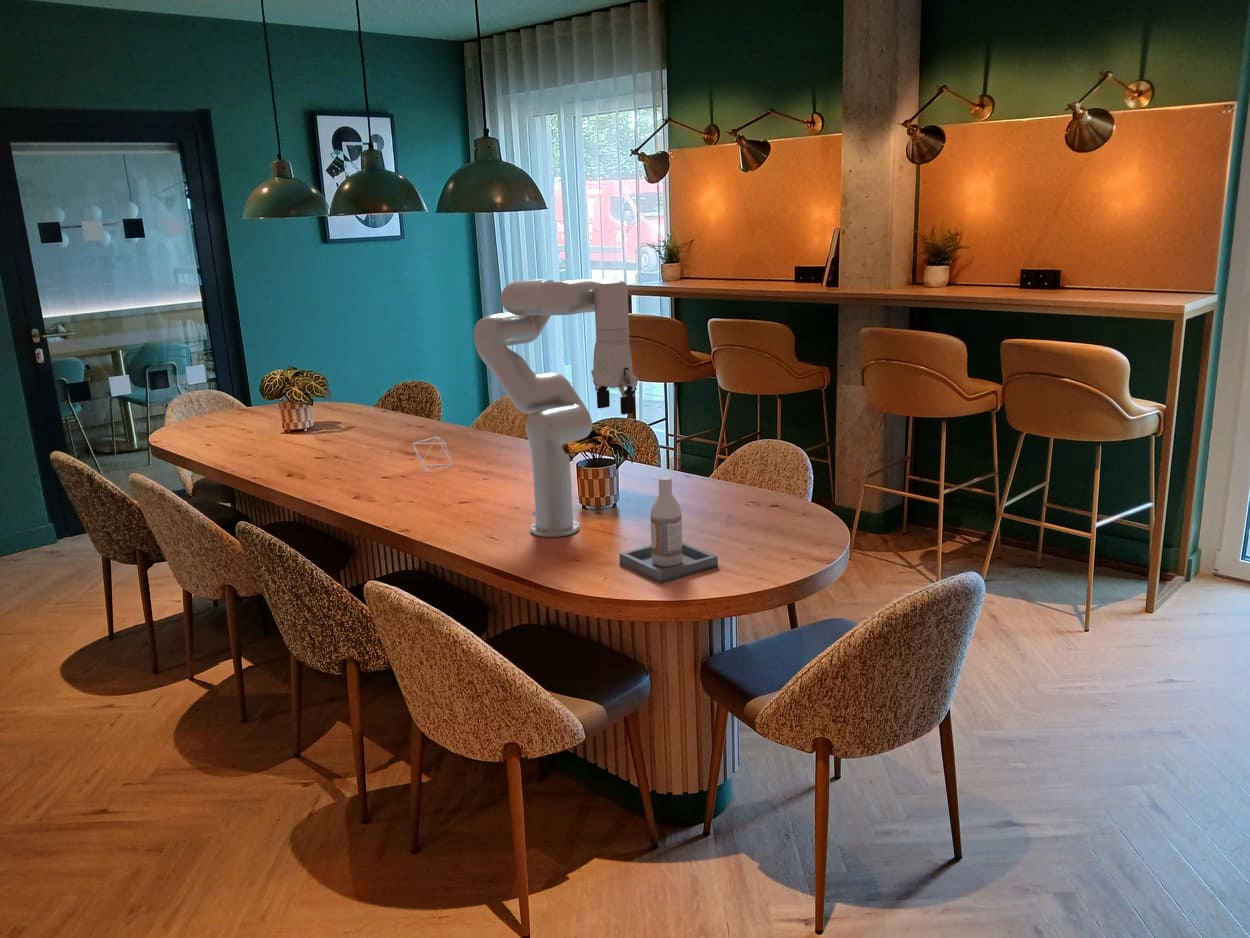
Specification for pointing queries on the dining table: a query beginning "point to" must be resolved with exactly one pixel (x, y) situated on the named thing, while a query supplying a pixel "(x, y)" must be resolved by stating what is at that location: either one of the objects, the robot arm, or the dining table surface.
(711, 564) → the blue-gray tray
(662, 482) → the bath foam
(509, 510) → the dining table surface
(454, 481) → the dining table surface
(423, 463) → the geometric polyhedron
